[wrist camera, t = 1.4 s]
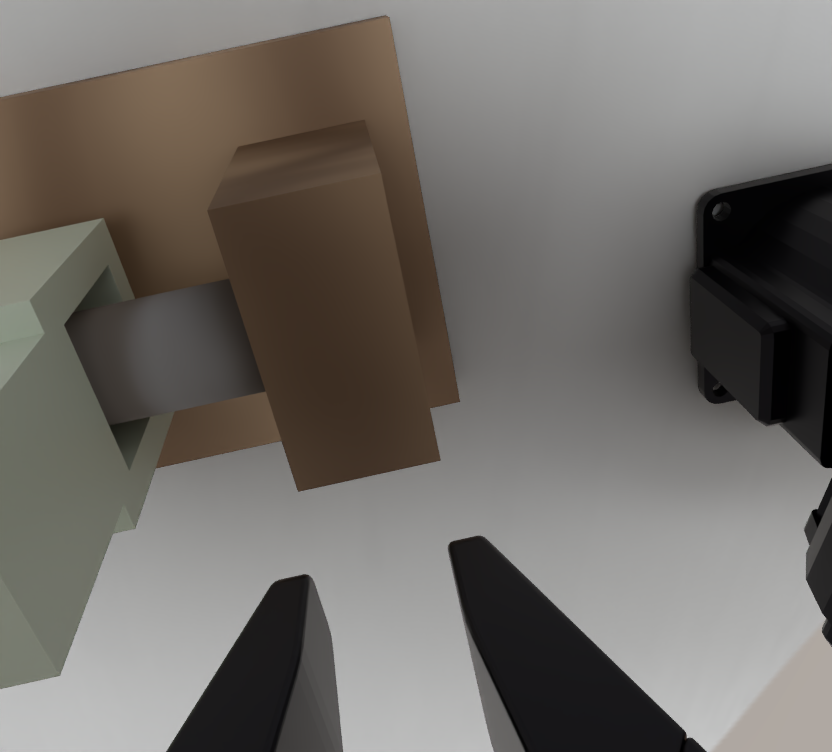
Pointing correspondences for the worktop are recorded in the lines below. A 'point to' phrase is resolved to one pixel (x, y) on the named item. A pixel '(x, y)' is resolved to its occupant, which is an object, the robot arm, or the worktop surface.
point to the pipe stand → (250, 248)
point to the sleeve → (59, 446)
